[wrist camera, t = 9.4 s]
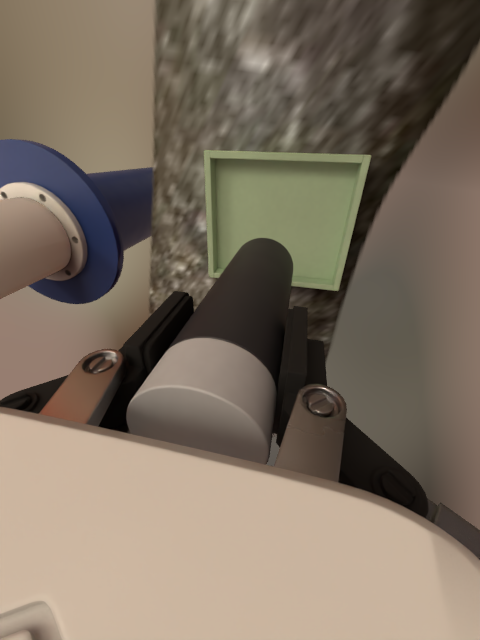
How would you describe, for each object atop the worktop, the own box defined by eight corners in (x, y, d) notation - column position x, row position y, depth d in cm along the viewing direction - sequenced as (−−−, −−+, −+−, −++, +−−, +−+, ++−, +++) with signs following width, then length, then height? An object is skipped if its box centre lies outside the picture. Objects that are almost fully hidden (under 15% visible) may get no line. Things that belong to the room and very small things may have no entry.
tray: (214, 270, 32) (208, 277, 30) (210, 150, 26) (203, 150, 24) (336, 283, 30) (338, 291, 28) (366, 154, 23) (371, 155, 22)
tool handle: (233, 291, 19) (139, 465, 9) (234, 234, 17) (109, 373, 6) (289, 298, 19) (263, 496, 8) (297, 240, 17) (277, 404, 6)
